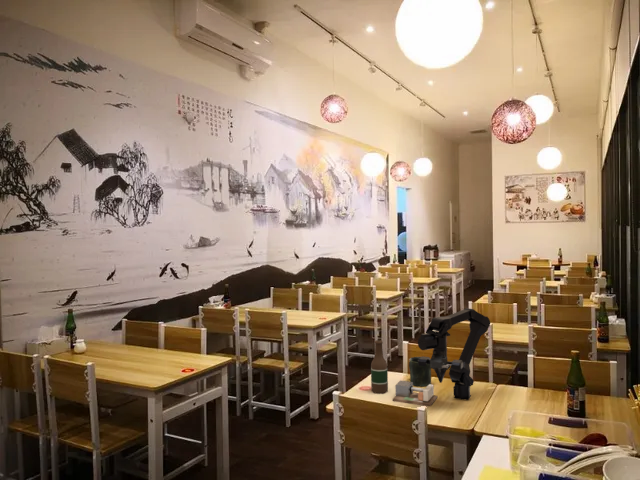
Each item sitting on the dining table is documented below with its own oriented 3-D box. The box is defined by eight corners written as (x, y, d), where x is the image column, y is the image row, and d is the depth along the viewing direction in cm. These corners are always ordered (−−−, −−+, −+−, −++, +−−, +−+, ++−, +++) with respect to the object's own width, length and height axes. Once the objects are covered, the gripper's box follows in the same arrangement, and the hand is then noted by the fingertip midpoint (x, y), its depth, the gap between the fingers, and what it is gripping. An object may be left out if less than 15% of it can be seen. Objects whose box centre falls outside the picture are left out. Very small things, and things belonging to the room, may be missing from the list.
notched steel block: (413, 393, 230) (412, 382, 230) (408, 397, 224) (408, 386, 224) (400, 391, 233) (400, 380, 233) (395, 395, 227) (395, 384, 227)
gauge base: (437, 397, 226) (437, 395, 226) (430, 406, 215) (430, 403, 215) (401, 392, 234) (401, 390, 234) (392, 400, 223) (392, 398, 223)
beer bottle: (387, 394, 232) (386, 342, 232) (370, 393, 234) (369, 342, 233) (388, 389, 240) (387, 339, 239) (372, 388, 241) (371, 338, 241)
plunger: (433, 394, 226) (433, 384, 226) (427, 401, 217) (427, 391, 217) (414, 392, 230) (414, 382, 230) (407, 398, 221) (407, 388, 221)
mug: (418, 388, 240) (417, 363, 239) (401, 380, 253) (400, 356, 253) (436, 385, 244) (436, 360, 244) (419, 377, 257) (418, 354, 257)
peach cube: (424, 399, 220) (424, 392, 220) (422, 400, 219) (422, 393, 218) (419, 398, 221) (419, 391, 221) (418, 400, 219) (418, 393, 219)
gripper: (413, 349, 216) (414, 385, 216) (457, 353, 207) (458, 390, 208) (421, 343, 226) (421, 378, 226) (463, 347, 217) (463, 383, 218)
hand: (440, 382), depth 219 cm, fingers closed
